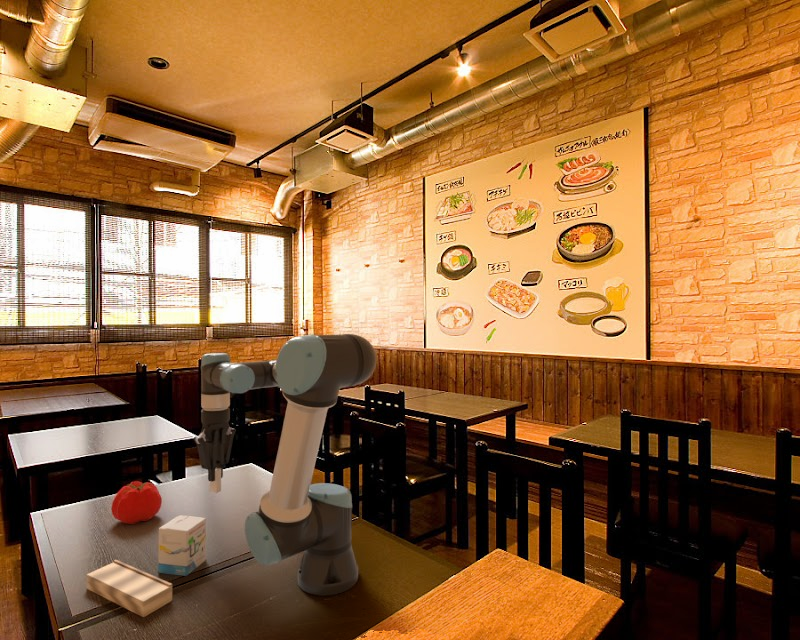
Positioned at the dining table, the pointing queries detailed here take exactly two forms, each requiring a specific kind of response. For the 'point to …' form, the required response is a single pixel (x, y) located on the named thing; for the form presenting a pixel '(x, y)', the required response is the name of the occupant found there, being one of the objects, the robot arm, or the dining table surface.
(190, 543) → the ink box
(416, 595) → the dining table surface
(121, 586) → the plank
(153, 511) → the tomato
